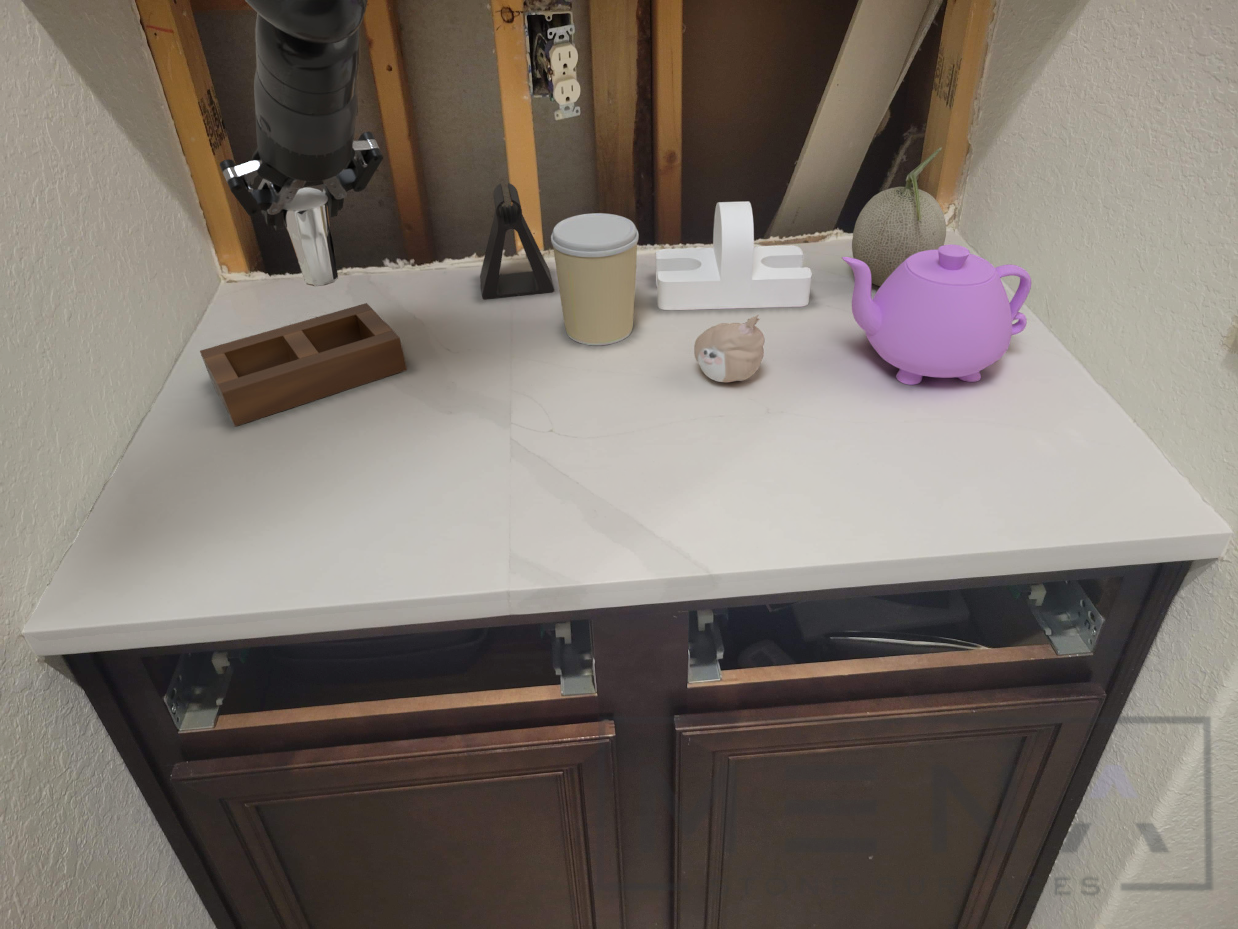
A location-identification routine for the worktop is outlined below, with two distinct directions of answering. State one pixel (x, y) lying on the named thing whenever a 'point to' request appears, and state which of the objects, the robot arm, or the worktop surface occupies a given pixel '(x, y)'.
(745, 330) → the beige round figure
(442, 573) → the worktop surface
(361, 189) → the robot arm
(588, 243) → the coffee cup
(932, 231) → the fruit
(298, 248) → the milkshake
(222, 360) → the tray
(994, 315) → the teapot
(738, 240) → the white slotted holder
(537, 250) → the phone stand
